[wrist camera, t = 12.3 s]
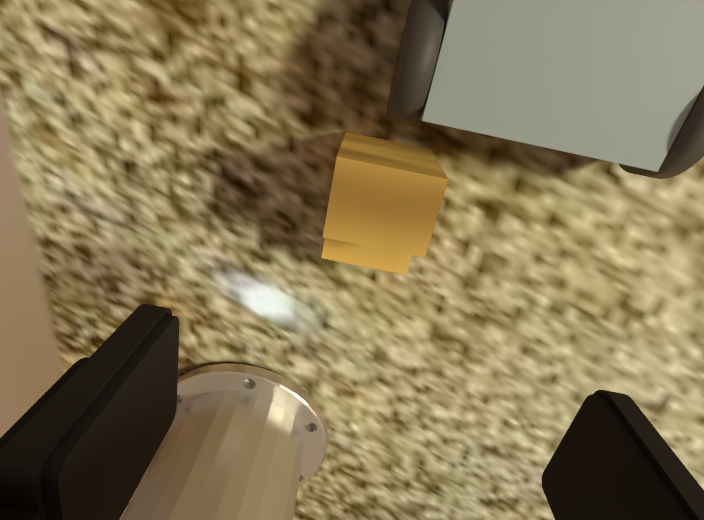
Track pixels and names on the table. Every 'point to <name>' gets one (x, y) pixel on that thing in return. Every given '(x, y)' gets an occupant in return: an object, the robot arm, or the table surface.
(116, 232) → the table surface
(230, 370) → the robot arm
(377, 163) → the orange block
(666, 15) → the trolley
